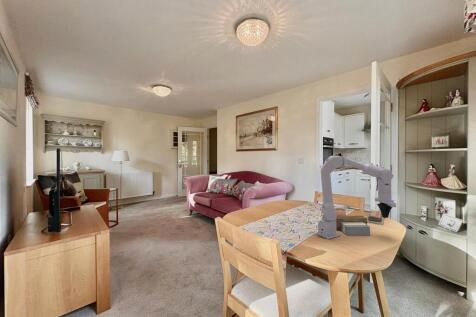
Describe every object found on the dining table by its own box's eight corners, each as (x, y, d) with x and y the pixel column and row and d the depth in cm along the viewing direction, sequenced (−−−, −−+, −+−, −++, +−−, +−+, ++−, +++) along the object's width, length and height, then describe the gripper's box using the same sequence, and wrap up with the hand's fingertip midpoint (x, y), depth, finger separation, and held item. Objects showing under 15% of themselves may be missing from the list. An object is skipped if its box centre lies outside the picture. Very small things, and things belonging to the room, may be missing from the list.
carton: (370, 235, 113) (370, 226, 113) (347, 236, 114) (346, 226, 114) (362, 230, 121) (362, 221, 121) (341, 230, 122) (340, 222, 122)
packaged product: (367, 209, 149) (384, 211, 143) (367, 216, 149) (384, 218, 143) (364, 215, 135) (383, 217, 129) (364, 223, 135) (383, 225, 129)
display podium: (367, 230, 121) (367, 218, 121) (335, 230, 122) (335, 218, 122) (362, 227, 126) (362, 215, 126) (332, 227, 128) (331, 216, 127)
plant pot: (341, 222, 137) (341, 211, 137) (332, 219, 143) (332, 208, 143) (348, 220, 140) (348, 209, 140) (339, 217, 146) (339, 207, 146)
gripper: (402, 194, 103) (403, 221, 103) (383, 189, 117) (384, 213, 117) (387, 194, 103) (388, 222, 103) (370, 189, 118) (371, 213, 118)
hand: (385, 217), depth 110 cm, fingers closed
